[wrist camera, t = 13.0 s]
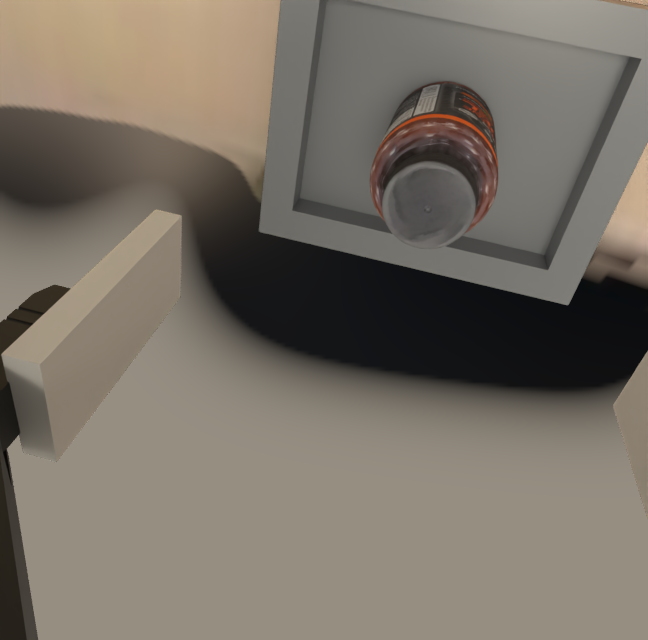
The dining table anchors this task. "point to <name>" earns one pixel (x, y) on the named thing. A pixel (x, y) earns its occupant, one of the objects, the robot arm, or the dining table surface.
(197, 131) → the dining table surface
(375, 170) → the supplement bottle
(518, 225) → the tray
